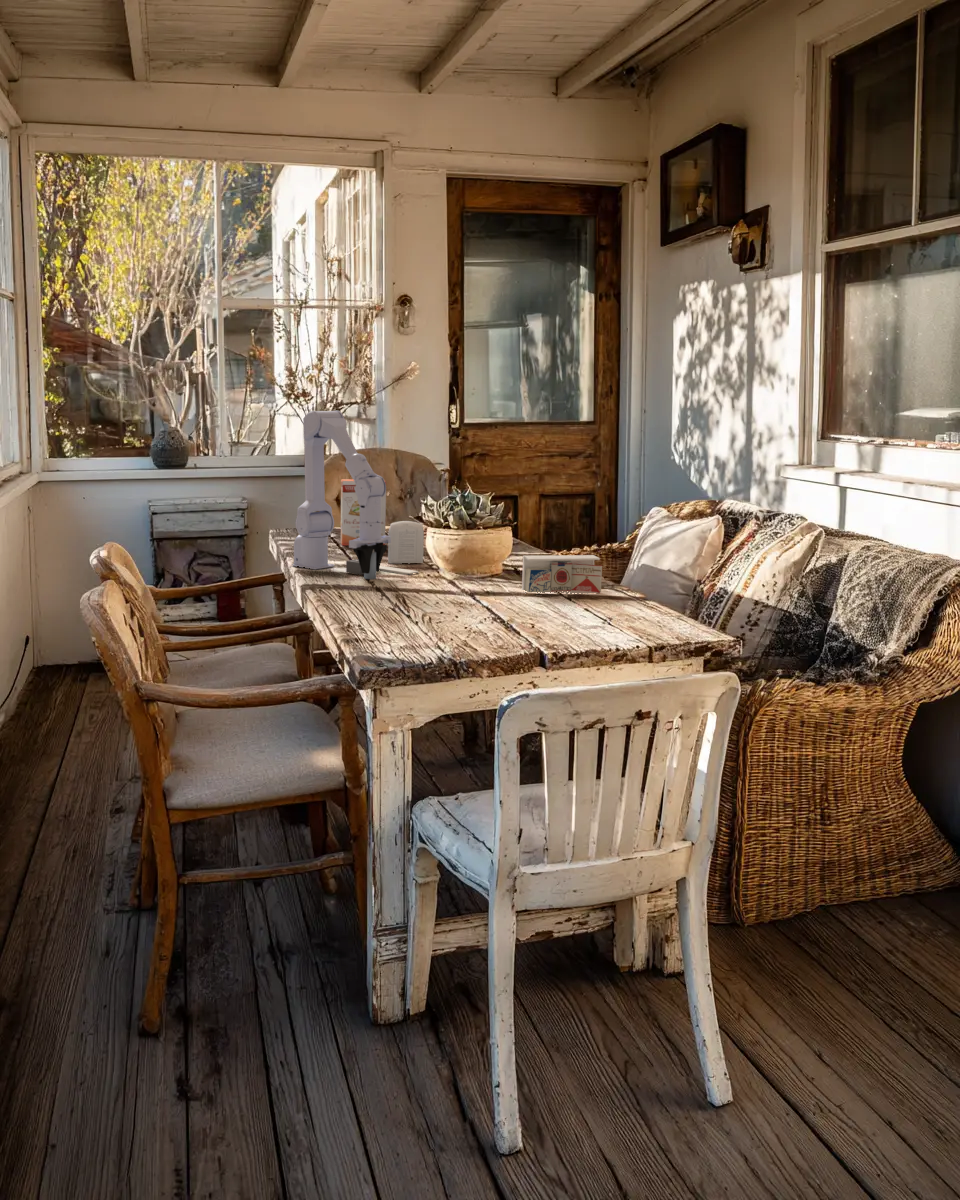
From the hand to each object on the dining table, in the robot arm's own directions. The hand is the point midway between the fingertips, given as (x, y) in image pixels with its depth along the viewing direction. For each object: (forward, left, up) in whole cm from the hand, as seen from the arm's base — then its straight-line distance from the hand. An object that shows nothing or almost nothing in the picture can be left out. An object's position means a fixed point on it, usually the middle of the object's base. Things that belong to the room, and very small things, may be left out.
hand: (370, 572), depth 315 cm
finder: (-8, +6, -2) cm, 11 cm away
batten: (-4, +13, -2) cm, 14 cm away
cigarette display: (+50, +18, -2) cm, 53 cm away
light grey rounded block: (-10, +26, -2) cm, 28 cm away
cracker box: (-44, +45, -2) cm, 63 cm away
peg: (0, 0, -2) cm, 2 cm away
